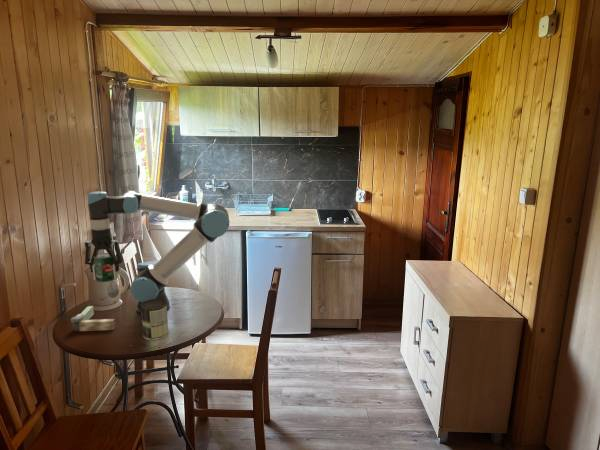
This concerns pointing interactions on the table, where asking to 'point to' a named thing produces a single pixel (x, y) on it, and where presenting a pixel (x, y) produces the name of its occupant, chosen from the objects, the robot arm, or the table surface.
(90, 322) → the tongs fixed arm
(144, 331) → the coffee can
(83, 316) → the tongs jaw
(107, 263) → the canned tomato
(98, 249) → the robot arm
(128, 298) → the table surface
